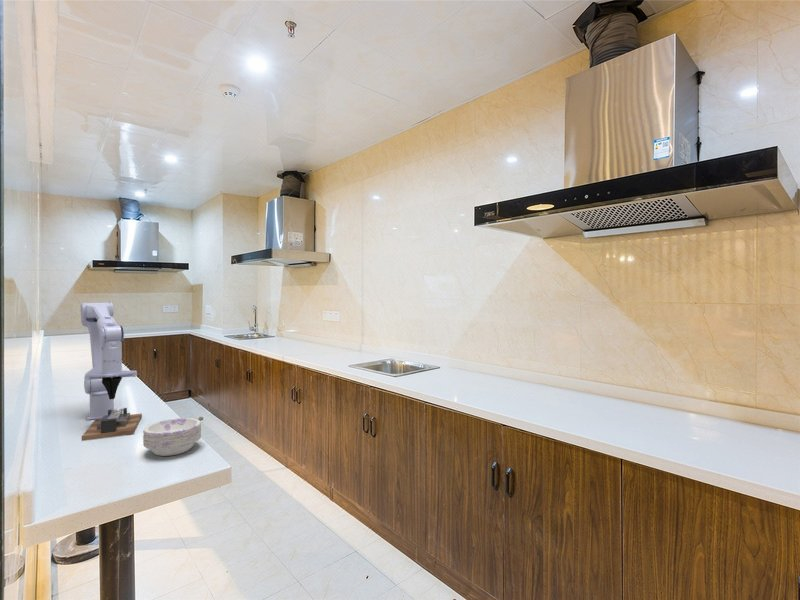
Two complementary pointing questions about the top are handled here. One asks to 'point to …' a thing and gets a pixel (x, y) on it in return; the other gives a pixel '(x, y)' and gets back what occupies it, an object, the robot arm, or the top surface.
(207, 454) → the top surface
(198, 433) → the paper bowls
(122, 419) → the clamp block
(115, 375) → the robot arm
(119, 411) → the grey flat bar
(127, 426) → the board
